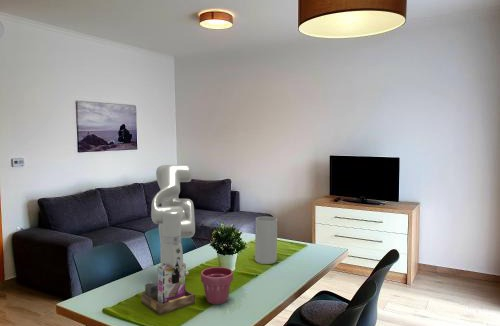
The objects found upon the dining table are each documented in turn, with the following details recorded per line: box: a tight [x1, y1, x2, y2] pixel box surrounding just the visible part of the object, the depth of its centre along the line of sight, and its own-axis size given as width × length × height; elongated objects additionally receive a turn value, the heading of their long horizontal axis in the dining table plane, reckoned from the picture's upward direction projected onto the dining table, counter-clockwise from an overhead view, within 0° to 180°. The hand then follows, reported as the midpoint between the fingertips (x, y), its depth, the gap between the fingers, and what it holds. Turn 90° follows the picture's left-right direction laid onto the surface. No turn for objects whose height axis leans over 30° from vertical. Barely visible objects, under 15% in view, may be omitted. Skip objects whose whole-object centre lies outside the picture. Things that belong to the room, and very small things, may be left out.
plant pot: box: [200, 266, 234, 305], centre depth 174 cm, size 14×14×13 cm
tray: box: [140, 281, 196, 316], centre depth 170 cm, size 17×16×8 cm
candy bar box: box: [157, 262, 187, 304], centre depth 167 cm, size 11×5×16 cm, turn 134°
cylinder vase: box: [254, 215, 278, 265], centre depth 227 cm, size 12×12×25 cm
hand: (171, 280), depth 167 cm, fingers closed on candy bar box, 5 cm apart
